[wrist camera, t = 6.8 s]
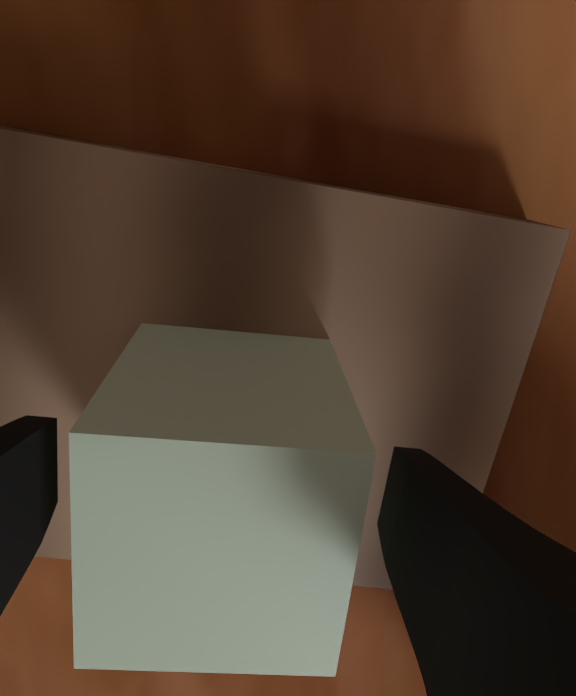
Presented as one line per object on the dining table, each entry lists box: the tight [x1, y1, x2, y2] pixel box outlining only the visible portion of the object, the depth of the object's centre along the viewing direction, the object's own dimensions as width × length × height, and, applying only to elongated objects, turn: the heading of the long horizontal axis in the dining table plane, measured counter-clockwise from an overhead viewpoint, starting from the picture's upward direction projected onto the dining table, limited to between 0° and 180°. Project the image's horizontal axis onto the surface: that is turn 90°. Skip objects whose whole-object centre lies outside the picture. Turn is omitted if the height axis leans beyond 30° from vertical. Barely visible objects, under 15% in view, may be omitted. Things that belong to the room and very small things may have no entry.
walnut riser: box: [0, 126, 571, 590], centre depth 17 cm, size 16×12×3 cm
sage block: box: [69, 323, 376, 677], centre depth 13 cm, size 5×5×6 cm
